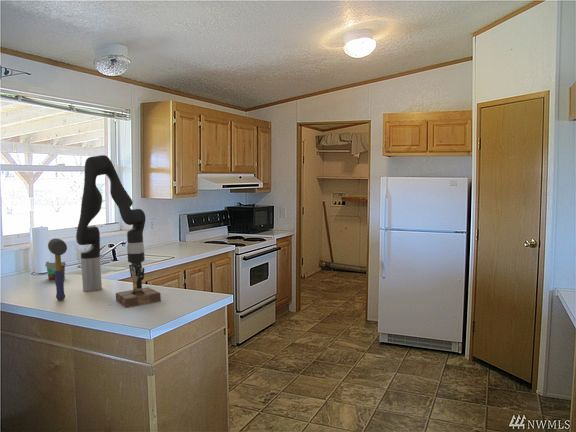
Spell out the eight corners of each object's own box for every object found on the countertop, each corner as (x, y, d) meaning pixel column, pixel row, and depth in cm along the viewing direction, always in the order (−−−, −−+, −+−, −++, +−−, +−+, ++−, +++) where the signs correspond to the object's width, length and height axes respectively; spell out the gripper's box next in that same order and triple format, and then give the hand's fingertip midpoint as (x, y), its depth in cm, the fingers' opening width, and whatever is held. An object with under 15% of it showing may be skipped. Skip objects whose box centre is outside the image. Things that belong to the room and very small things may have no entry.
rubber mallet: (50, 298, 231) (46, 238, 228) (67, 296, 235) (63, 236, 232) (54, 304, 221) (49, 241, 218) (71, 301, 225) (67, 239, 222)
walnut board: (116, 301, 224) (115, 292, 224) (148, 295, 234) (148, 287, 234) (127, 307, 212) (126, 299, 212) (160, 301, 222) (160, 292, 222)
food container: (41, 280, 274) (39, 263, 273) (48, 277, 280) (47, 261, 279) (59, 280, 271) (58, 263, 270) (66, 278, 277) (65, 261, 276)
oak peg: (132, 300, 224) (130, 271, 222) (140, 298, 226) (139, 269, 225) (135, 302, 220) (133, 272, 219) (144, 300, 223) (142, 271, 222)
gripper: (122, 250, 224) (124, 286, 226) (133, 254, 213) (135, 291, 215) (138, 249, 229) (139, 283, 231) (149, 252, 218) (151, 288, 219)
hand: (137, 287), depth 223 cm, fingers closed on oak peg, 4 cm apart
